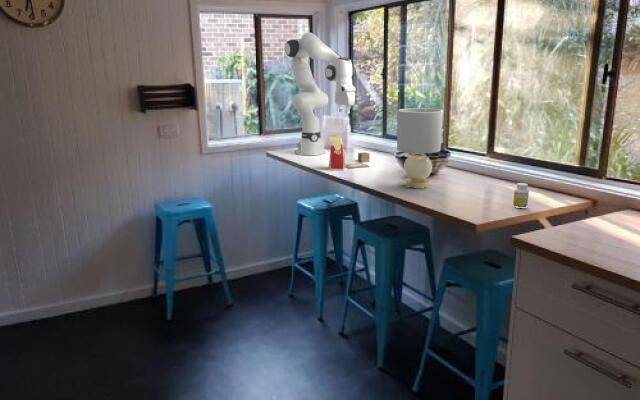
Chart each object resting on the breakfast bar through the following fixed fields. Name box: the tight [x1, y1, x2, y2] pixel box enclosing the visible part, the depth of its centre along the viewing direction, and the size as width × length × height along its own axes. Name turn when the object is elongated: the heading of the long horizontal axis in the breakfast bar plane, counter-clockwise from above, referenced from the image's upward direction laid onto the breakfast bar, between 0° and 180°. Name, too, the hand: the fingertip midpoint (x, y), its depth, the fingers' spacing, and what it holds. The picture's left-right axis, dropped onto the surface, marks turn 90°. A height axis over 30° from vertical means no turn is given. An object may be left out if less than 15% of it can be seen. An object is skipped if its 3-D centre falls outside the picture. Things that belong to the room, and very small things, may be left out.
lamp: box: [396, 107, 444, 189], centre depth 234 cm, size 20×20×35 cm
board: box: [345, 160, 370, 170], centre depth 288 cm, size 16×12×1 cm
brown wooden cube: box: [357, 151, 370, 164], centre depth 298 cm, size 5×5×5 cm
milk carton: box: [328, 132, 346, 171], centre depth 277 cm, size 9×9×20 cm
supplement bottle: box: [512, 182, 530, 207], centre depth 201 cm, size 5×5×10 cm
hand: (344, 112), depth 284 cm, fingers open, 8 cm apart
